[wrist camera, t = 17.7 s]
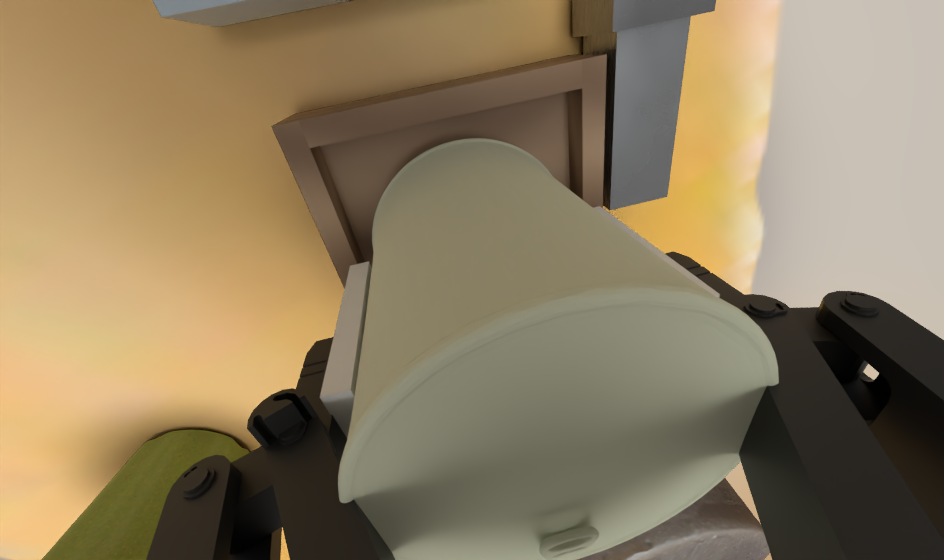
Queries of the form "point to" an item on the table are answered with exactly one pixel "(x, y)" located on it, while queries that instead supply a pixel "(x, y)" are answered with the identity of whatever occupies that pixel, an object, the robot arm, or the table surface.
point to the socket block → (232, 9)
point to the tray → (444, 140)
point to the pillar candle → (699, 533)
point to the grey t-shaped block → (638, 88)
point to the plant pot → (138, 497)
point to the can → (534, 370)
